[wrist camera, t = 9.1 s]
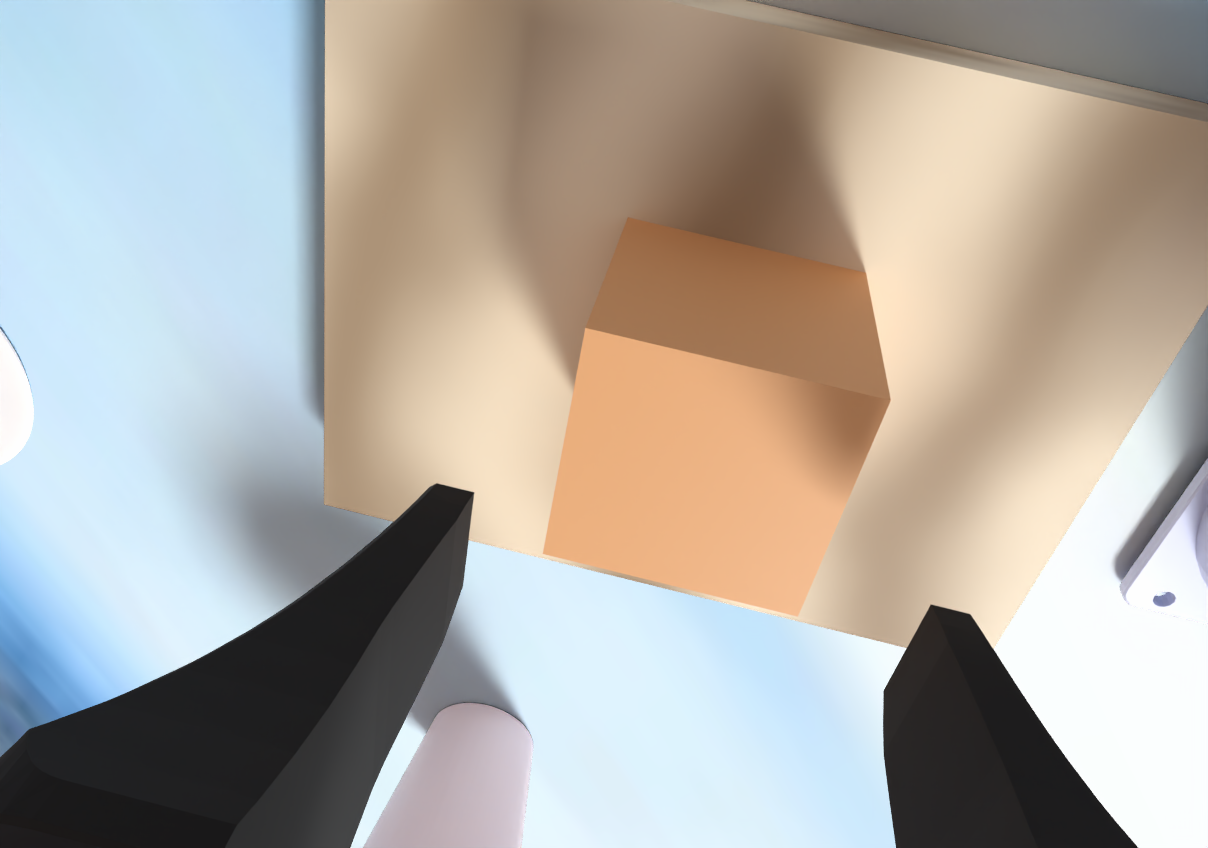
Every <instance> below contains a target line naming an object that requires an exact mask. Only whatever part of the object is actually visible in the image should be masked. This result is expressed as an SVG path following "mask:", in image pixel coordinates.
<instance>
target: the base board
mask: <svg viewBox="0 0 1208 848" xmlns="http://www.w3.org/2000/svg"><path fill="white" fill-rule="evenodd" d="M628 217H629V218H633V219H637V220H642V221H646V222H650V223H654V224H659V225H663V226H667V227H672V228H676V229H680V230H684V231H689V232H693V233H697V234H702V235H706V236H710V237H715V238H719V239H723V240H727V241H732V242H736V243H740V244H745V245H749V246H753V247H758V248H762V249H766V250H770V251H775V252H779V253H783V254H788V255H792V256H796V257H800V258H805V259H809V260H813V261H818V262H822V263H826V264H831V265H835V266H839V267H843V268H848V269H852V270H856V271H861V272H865V273H866V275H867V280H868V286H869V291H870V296H871V301H872V306H873V311H874V316H875V321H876V326H877V332H878V337H879V342H880V347H881V352H882V357H883V362H884V367H885V373H886V378H887V383H888V388H889V393H890V398H891V401H890V404H889V406H888V408H887V411H886V413H885V415H884V418H883V420H882V422H881V425H880V427H879V429H878V432H877V434H876V436H875V439H874V441H873V443H872V446H871V448H870V450H869V453H868V455H867V457H866V460H865V462H864V464H863V467H862V469H861V471H860V474H859V476H858V478H857V480H856V483H855V485H854V487H853V490H852V492H851V494H850V497H849V499H848V501H847V504H846V506H845V508H844V511H843V513H842V515H841V518H840V520H839V522H838V525H837V527H836V529H835V532H834V534H833V536H832V539H831V541H830V543H829V546H828V548H827V550H826V553H825V555H824V557H823V560H822V562H821V564H820V567H819V569H818V571H817V574H816V576H815V578H814V581H813V583H812V585H811V587H810V590H809V592H808V594H807V597H806V599H805V601H804V604H803V606H802V608H801V611H800V613H799V615H798V617H797V616H793V615H789V614H785V613H781V612H777V611H773V610H769V609H765V608H761V607H757V606H753V605H748V604H744V603H740V602H736V601H732V600H728V599H724V598H720V597H716V596H712V595H708V594H704V593H700V592H696V591H692V590H688V589H683V588H679V587H675V586H671V585H667V584H663V583H659V582H655V581H651V580H647V579H643V578H639V577H635V576H631V575H627V574H622V573H618V572H614V571H610V570H606V569H602V568H598V567H594V566H590V565H586V564H582V563H578V562H574V561H570V560H566V559H561V558H557V557H553V556H549V555H545V554H543V549H544V544H545V539H546V534H547V528H548V523H549V518H550V512H551V507H552V502H553V497H554V491H555V486H556V481H557V475H558V470H559V465H560V459H561V454H562V449H563V444H564V438H565V433H566V428H567V422H568V417H569V412H570V406H571V401H572V396H573V391H574V385H575V380H576V375H577V369H578V364H579V359H580V353H581V348H582V343H583V338H584V332H585V327H586V325H587V322H588V320H589V317H590V314H591V312H592V309H593V307H594V304H595V301H596V299H597V296H598V294H599V291H600V288H601V286H602V283H603V281H604V278H605V275H606V273H607V270H608V268H609V265H610V262H611V260H612V257H613V255H614V252H615V249H616V247H617V244H618V242H619V239H620V236H621V234H622V231H623V229H624V226H625V223H626V221H627V218H628ZM1207 306H1208V104H1207V103H1203V102H1198V101H1194V100H1189V99H1185V98H1181V97H1176V96H1172V95H1167V94H1163V93H1158V92H1154V91H1149V90H1145V89H1140V88H1136V87H1131V86H1127V85H1122V84H1118V83H1113V82H1109V81H1105V80H1100V79H1096V78H1091V77H1087V76H1082V75H1078V74H1073V73H1069V72H1064V71H1060V70H1055V69H1051V68H1046V67H1042V66H1038V65H1033V64H1029V63H1024V62H1020V61H1015V60H1011V59H1006V58H1002V57H997V56H993V55H988V54H984V53H979V52H975V51H971V50H966V49H962V48H957V47H953V46H948V45H944V44H939V43H935V42H930V41H926V40H921V39H917V38H912V37H908V36H904V35H899V34H895V33H890V32H886V31H881V30H877V29H872V28H868V27H863V26H859V25H854V24H850V23H845V22H841V21H837V20H832V19H828V18H823V17H819V16H814V15H810V14H805V13H801V12H796V11H792V10H787V9H783V8H778V7H774V6H770V5H765V4H761V3H756V2H752V1H747V0H325V259H324V505H328V506H332V507H336V508H340V509H344V510H348V511H353V512H357V513H361V514H365V515H369V516H373V517H377V518H381V519H385V520H389V521H393V522H394V521H395V520H396V519H397V518H398V517H399V516H400V515H402V514H403V513H404V512H405V511H406V510H407V509H408V508H409V507H410V506H411V505H412V504H413V503H414V502H415V501H416V500H417V499H418V498H419V497H420V496H421V495H422V494H423V493H424V492H425V491H426V490H427V489H428V488H429V487H430V486H432V485H434V484H436V483H438V484H442V485H446V486H450V487H454V488H458V489H463V490H467V491H471V492H474V500H473V508H472V516H471V524H470V532H469V540H470V541H474V542H478V543H483V544H487V545H491V546H495V547H499V548H503V549H507V550H511V551H515V552H519V553H523V554H527V555H531V556H535V557H539V558H543V559H548V560H552V561H556V562H560V563H564V564H568V565H572V566H576V567H580V568H584V569H588V570H592V571H596V572H600V573H604V574H608V575H613V576H617V577H621V578H625V579H629V580H633V581H637V582H641V583H645V584H649V585H653V586H657V587H661V588H665V589H669V590H673V591H678V592H682V593H686V594H690V595H694V596H698V597H702V598H706V599H710V600H714V601H718V602H722V603H726V604H730V605H734V606H738V607H743V608H747V609H751V610H755V611H759V612H763V613H767V614H771V615H775V616H779V617H783V618H787V619H791V620H795V621H799V622H803V623H808V624H812V625H816V626H820V627H824V628H828V629H832V630H836V631H840V632H844V633H848V634H852V635H856V636H860V637H864V638H868V639H872V640H877V641H881V642H885V643H889V644H893V645H897V646H901V647H905V648H907V647H908V645H909V643H910V642H911V640H912V638H913V636H914V634H915V632H916V631H917V629H918V627H919V625H920V623H921V621H922V620H923V618H924V616H925V614H926V612H927V610H928V609H929V607H930V605H931V604H932V605H936V606H940V607H944V608H948V609H952V610H956V611H960V612H964V613H968V614H971V616H972V617H973V619H974V620H975V622H976V623H977V625H978V626H979V628H980V629H981V631H982V632H983V634H984V635H985V637H986V639H987V640H988V642H989V643H990V645H991V646H992V648H993V649H994V647H995V645H996V644H997V642H998V641H999V639H1000V637H1001V636H1002V634H1003V633H1004V631H1005V629H1006V628H1007V626H1008V625H1009V623H1010V621H1011V620H1012V618H1013V617H1014V615H1015V613H1016V612H1017V610H1018V609H1019V607H1020V605H1021V604H1022V602H1023V601H1024V599H1025V597H1026V596H1027V594H1028V593H1029V591H1030V589H1031V588H1032V586H1033V585H1034V583H1035V581H1036V580H1037V578H1038V577H1039V575H1040V573H1041V572H1042V570H1043V569H1044V567H1045V565H1046V564H1047V562H1048V561H1049V559H1050V557H1051V556H1052V554H1053V553H1054V551H1055V549H1056V548H1057V546H1058V545H1059V543H1060V541H1061V540H1062V538H1063V537H1064V535H1065V533H1066V532H1067V530H1068V529H1069V527H1070V525H1071V524H1072V522H1073V521H1074V519H1075V517H1076V516H1077V514H1078V513H1079V511H1080V509H1081V508H1082V506H1083V505H1084V503H1085V501H1086V500H1087V498H1088V497H1089V495H1090V493H1091V492H1092V490H1093V489H1094V487H1095V485H1096V484H1097V482H1098V481H1099V479H1100V477H1101V476H1102V474H1103V473H1104V471H1105V469H1106V468H1107V466H1108V465H1109V463H1110V461H1111V460H1112V458H1113V456H1114V455H1115V453H1116V452H1117V450H1118V448H1119V447H1120V445H1121V444H1122V442H1123V440H1124V439H1125V437H1126V436H1127V434H1128V432H1129V431H1130V429H1131V428H1132V426H1133V424H1134V423H1135V421H1136V420H1137V418H1138V416H1139V415H1140V413H1141V412H1142V410H1143V408H1144V407H1145V405H1146V404H1147V402H1148V400H1149V399H1150V397H1151V396H1152V394H1153V392H1154V391H1155V389H1156V388H1157V386H1158V384H1159V383H1160V381H1161V380H1162V378H1163V376H1164V375H1165V373H1166V372H1167V370H1168V368H1169V367H1170V365H1171V364H1172V362H1173V360H1174V359H1175V357H1176V356H1177V354H1178V352H1179V351H1180V349H1181V348H1182V346H1183V344H1184V343H1185V341H1186V340H1187V338H1188V336H1189V335H1190V333H1191V332H1192V330H1193V328H1194V327H1195V325H1196V324H1197V322H1198V320H1199V319H1200V317H1201V316H1202V314H1203V312H1204V311H1205V309H1206V308H1207Z"/></svg>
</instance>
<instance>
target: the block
mask: <svg viewBox="0 0 1208 848" xmlns="http://www.w3.org/2000/svg"><path fill="white" fill-rule="evenodd" d="M890 401H891V398H890V393H889V388H888V383H887V378H886V373H885V367H884V362H883V357H882V352H881V347H880V342H879V337H878V332H877V326H876V321H875V316H874V311H873V306H872V301H871V296H870V291H869V286H868V280H867V275H866V273H865V272H861V271H856V270H852V269H848V268H843V267H839V266H835V265H831V264H826V263H822V262H818V261H813V260H809V259H805V258H800V257H796V256H792V255H788V254H783V253H779V252H775V251H770V250H766V249H762V248H758V247H753V246H749V245H745V244H740V243H736V242H732V241H727V240H723V239H719V238H715V237H710V236H706V235H702V234H697V233H693V232H689V231H684V230H680V229H676V228H672V227H667V226H663V225H659V224H654V223H650V222H646V221H642V220H637V219H633V218H629V217H628V218H627V221H626V223H625V226H624V229H623V231H622V234H621V236H620V239H619V242H618V244H617V247H616V249H615V252H614V255H613V257H612V260H611V262H610V265H609V268H608V270H607V273H606V275H605V278H604V281H603V283H602V286H601V288H600V291H599V294H598V296H597V299H596V301H595V304H594V307H593V309H592V312H591V314H590V317H589V320H588V322H587V325H586V327H585V332H584V338H583V343H582V348H581V353H580V359H579V364H578V369H577V375H576V380H575V385H574V391H573V396H572V401H571V406H570V412H569V417H568V422H567V428H566V433H565V438H564V444H563V449H562V454H561V459H560V465H559V470H558V475H557V481H556V486H555V491H554V497H553V502H552V507H551V512H550V518H549V523H548V528H547V534H546V539H545V544H544V549H543V554H545V555H549V556H553V557H557V558H561V559H566V560H570V561H574V562H578V563H582V564H586V565H590V566H594V567H598V568H602V569H606V570H610V571H614V572H618V573H622V574H627V575H631V576H635V577H639V578H643V579H647V580H651V581H655V582H659V583H663V584H667V585H671V586H675V587H679V588H683V589H688V590H692V591H696V592H700V593H704V594H708V595H712V596H716V597H720V598H724V599H728V600H732V601H736V602H740V603H744V604H748V605H753V606H757V607H761V608H765V609H769V610H773V611H777V612H781V613H785V614H789V615H793V616H797V617H798V615H799V613H800V611H801V608H802V606H803V604H804V601H805V599H806V597H807V594H808V592H809V590H810V587H811V585H812V583H813V581H814V578H815V576H816V574H817V571H818V569H819V567H820V564H821V562H822V560H823V557H824V555H825V553H826V550H827V548H828V546H829V543H830V541H831V539H832V536H833V534H834V532H835V529H836V527H837V525H838V522H839V520H840V518H841V515H842V513H843V511H844V508H845V506H846V504H847V501H848V499H849V497H850V494H851V492H852V490H853V487H854V485H855V483H856V480H857V478H858V476H859V474H860V471H861V469H862V467H863V464H864V462H865V460H866V457H867V455H868V453H869V450H870V448H871V446H872V443H873V441H874V439H875V436H876V434H877V432H878V429H879V427H880V425H881V422H882V420H883V418H884V415H885V413H886V411H887V408H888V406H889V404H890Z"/></svg>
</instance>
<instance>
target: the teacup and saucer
mask: <svg viewBox="0 0 1208 848" xmlns="http://www.w3.org/2000/svg"><path fill="white" fill-rule="evenodd" d="M33 417H34V406H33V398H32V392H31V388H30V384H29V381H28V378H27V375H26V373H25V370H24V368H23V365H22V363H21V361H20V359H19V357H18V355H17V353H16V352H15V350H14V348H13V347H12V345H11V343H10V342H9V340H8V339H7V337H6V336H5V334H4V333H3V332H2V330H1V329H0V465H1V464H3V463H5V462H7V461H9V460H10V459H12V458H13V457H14V456H15V455H17V454H18V453H19V452H20V450H21V449H22V448H23V447H24V445H25V444H26V442H27V440H28V438H29V435H30V433H31V429H32V425H33Z"/></svg>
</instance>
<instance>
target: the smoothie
mask: <svg viewBox="0 0 1208 848" xmlns="http://www.w3.org/2000/svg"><path fill="white" fill-rule="evenodd" d="M532 755H533V740H532V737H531V735H530V733H529V732H528V730H527V729H526V728H525V726H524V725H523V724H522V723H521V722H520V721H518V720H517V719H516V718H515V717H513V716H512V715H510V714H508V713H506V712H505V711H502V710H500V709H498V708H495V707H492V706H488V705H484V704H478V703H460V704H455V705H452V706H449V707H447V708H445V709H443V710H441V711H440V712H439V713H438V714H437V715H436V717H435V718H434V720H433V722H432V724H431V726H430V727H429V729H428V731H427V733H426V735H425V736H424V738H423V740H422V742H421V744H420V745H419V747H418V749H417V751H416V753H415V754H414V756H413V758H412V760H411V762H410V764H409V765H408V767H407V769H406V771H405V773H404V774H403V776H402V778H401V780H400V782H399V783H398V785H397V787H396V789H395V791H394V792H393V794H392V796H391V798H390V800H389V802H388V803H387V805H386V807H385V809H384V811H383V812H382V814H381V816H380V818H379V820H378V821H377V823H376V825H375V827H374V829H373V830H372V832H371V834H370V836H369V838H368V839H367V841H366V843H365V845H364V847H363V848H521V846H522V837H523V829H524V821H525V813H526V805H527V796H528V788H529V780H530V772H531V764H532Z"/></svg>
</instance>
